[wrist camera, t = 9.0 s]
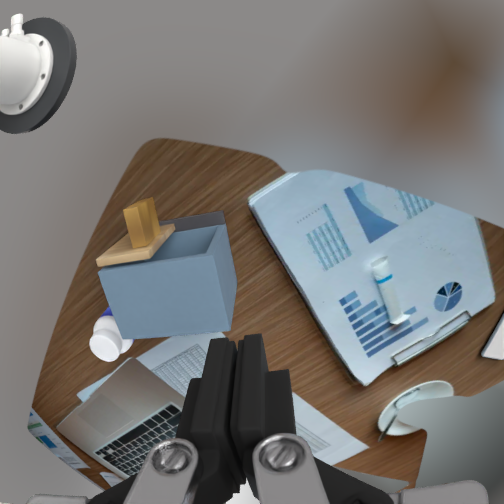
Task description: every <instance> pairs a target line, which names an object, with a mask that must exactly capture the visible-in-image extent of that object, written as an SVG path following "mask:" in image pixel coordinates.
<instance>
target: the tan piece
mask: <svg viewBox="0 0 504 504" xmlns="http://www.w3.org/2000/svg"><path fill="white" fill-rule="evenodd" d="M123 213H124V217H125V221H126V225H127V228H128V232H129V233H128V234H127V235H125V236H124V237H123V238H122V239H120V240H119V241H118V242H117V243H115V244H114V245H113V246H112V247H111V248H109V249H108V250H107V251H106V252H104V253H103V254H102V255H101V256H100V257H98V258H97V259H96V263H97V266H98V267H101V266H107V265H113V264H120V263H126V262H132V261H139V260H145V259H150V258H151V257H152V256H153V255H154V254H155V253H156V251H157V250H158V249H159V248H160V247H161V246H162V244H163V243H164V242H165V241H166V240H167V239H168V237H169V236H170V235H171V234H172V233H173V232H174V231H175V226H174V224H168V225H163V226H160V225H159V221H158V217H157V213H156V209H155V204H154V200H153V197H152V198H147V199H142V200H139V201H138V202H136V203H134V204H132V205H131V206H129V207H127V208H125V209H124V210H123Z"/></svg>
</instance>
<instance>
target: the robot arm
mask: <svg viewBox="0 0 504 504" xmlns="http://www.w3.org/2000/svg"><path fill="white" fill-rule="evenodd" d="M22 25H23V15H22V14H16V15H14V16H13V17H12V18H11V33H10V34H9V29H4V30H3V31H2V32H1V35H0V111H1V112H3V113H5V114H8V115H17V114H21V113H23V112H25V111H27V110H29V109H30V108H31V107H32V106H33V105H34V104H35V103H36V102H37V101H38V100H39V99H40V97H41V96H42V94H43V93H44V91H45V89H46V87H47V85H48V82H49V80H50V77H51V73H52V68H53V51H52V47H51V45H50V43H49V42H48V40H47V39H46V38H44V37H43V36H41V35H38V34H26V35H24V31H23V30H22ZM246 478H247V480H248V482H249V485H250V487H251V490H252V492H253V495H254V497H256V498H257V499H258V500H259V501H260V504H489V502H488V495H487V492H486V489H485V487H484V486H483V485H482V484H481V483H479V482H476V481H473V480H465V481H460V482H454V483H449V484H443V485H437V486H430V487H422V488H414V489H405V490H401V492H400V493H388V494H387V493H385V492H383V491H382V490H380V489H377V488H375V487H373V486H371V485H369V484H366V483H364V482H362V481H360V480H358V479H356V478H354V477H352V476H349V475H348V474H346V473H344V472H342V471H340V470H338V469H336V468H334V467H332V466H330V465H328V464H326V463H325V462H323V461H321V460H319V459H317V458H315V457H314V456H313V454H312V451H311V449H310V446H309V445H308V443H307V441H305V440H304V439H303V438H302V437H300V436H297V435H296V426H295V416H294V406H293V398H292V389H291V382H290V374H289V369H286V370H279V371H271V372H269V371H268V365H267V360H266V354H265V349H264V343H263V338H262V334H252V335H245V336H244V340H239V342H238V351H237V348H236V344H235V342H234V341H229V339H228V338H227V337H226V338H216V339H211V340H210V343H209V348H208V352H207V356H206V361H205V365H204V369H203V374H202V378H192V379H191V380H190V383H189V386H188V390H187V394H186V398H185V402H184V406H183V409H182V413H181V417H180V421H179V425H178V429H177V433H176V437H175V438H170V439H166V440H163V441H161V442H159V443H157V444H156V445H155V446H153V447H152V448H151V450H150V451H149V453H148V454H147V456H146V458H145V460H144V463H143V465H142V467H141V469H140V471H139V472H138V473H136V474H135V475H133V476H131V477H129V478H128V479H126V480H124V481H122V482H121V483H119V484H117V485H115V486H113V487H111V488H110V489H108V490H106V491H104V492H103V493H100V494H98V495H96V496H95V497H94V498H92V499H88V498H87V497H84V496H61V495H47V494H36V495H34V496H32V497H30V499H29V500H28V501H27V503H26V504H226V502H227V501H228V500H230V499H231V498H232V497H233V493H240V492H239V491H240V485H241V484H245V483H246ZM0 504H11V503H3V502H0Z"/></svg>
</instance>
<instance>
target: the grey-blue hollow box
mask: <svg viewBox="0 0 504 504" xmlns="http://www.w3.org/2000/svg"><path fill="white" fill-rule="evenodd" d="M168 224H174V226H175V231H174V232H173V233H172V234H171V235H170V236H169V237H168V239H167V240H166V241H165V242H164V243H163V244H162V246H161V247H160V248H159V249H158V250H157V251H156V253H155V254H154V255H153V256H152V257H151V258H150V259H145V260H139V261H132V262H126V263H120V264H113V265H107V266H104V267H103V268H102V269H101V270H100V271H99V272H98V275H99V278H100V281H101V284H102V286H103V289H104V292H105V295H106V298H107V301H108V303H109V306H110V309H111V311H112V314H113V317H114V319H115V322H116V324H117V327H118V329H119V332H120V334H121V337H122V339H123V340H124V339H141V338H156V337H169V336H182V335H193V334H203V333H213V332H223V331H230V330H231V323H232V316H233V309H234V303H235V296H236V289H237V278H236V273H235V268H234V263H233V258H232V253H231V248H230V243H229V238H228V233H227V228H226V223H225V217H224V212H223V210H221V211H215V212H210V213H204V214H198V215H192V216H187V217H181V218H176V219H170V220H165V221H159V225H160V226H163V225H168Z"/></svg>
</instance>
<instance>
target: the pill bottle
mask: <svg viewBox="0 0 504 504" xmlns="http://www.w3.org/2000/svg"><path fill="white" fill-rule="evenodd" d="M134 340H135V339H124V340H123V339H122V337H121V334H120V332H119V329H118V327H117V324H116V322H115V319H114V317H113V314H112V311H111V309H110V306H109V307H108V308H107V309H106V310H105V312H104V313H103V314H102V315H101V317H100V318H99V319H98V320H97V322H96V323H95V325H94V334H93V336H92V337H91V339H90V348H91V350H92V352H93V353H94V354H95V355H96V356H97V357H98V358H100V359H102V360H104V361H108V362H111V361H114V360H116V359H117V358H118V356H119V355H120V353H124V352H126V351H127V350H128V349H129V348H130V347H131V345H132V343H133V341H134Z"/></svg>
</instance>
